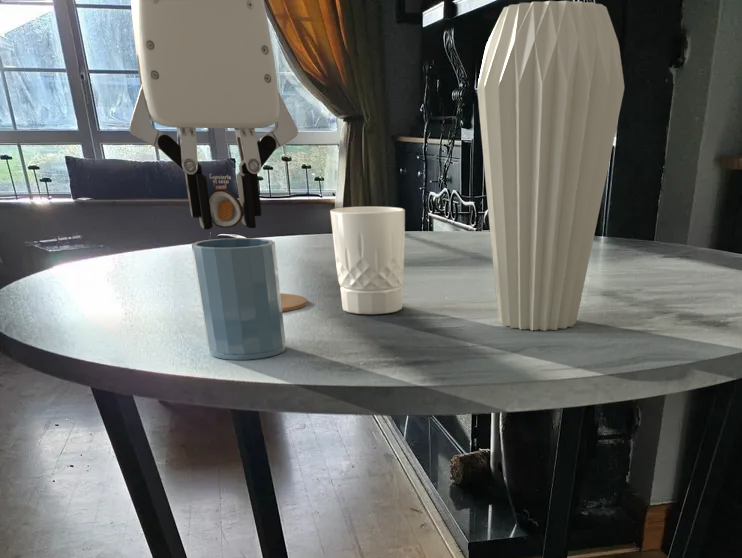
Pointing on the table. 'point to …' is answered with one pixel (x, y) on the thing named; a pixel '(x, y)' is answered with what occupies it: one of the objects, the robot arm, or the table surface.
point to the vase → (547, 152)
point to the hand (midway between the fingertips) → (227, 224)
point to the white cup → (369, 257)
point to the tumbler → (240, 297)
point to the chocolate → (224, 206)
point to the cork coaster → (292, 302)
